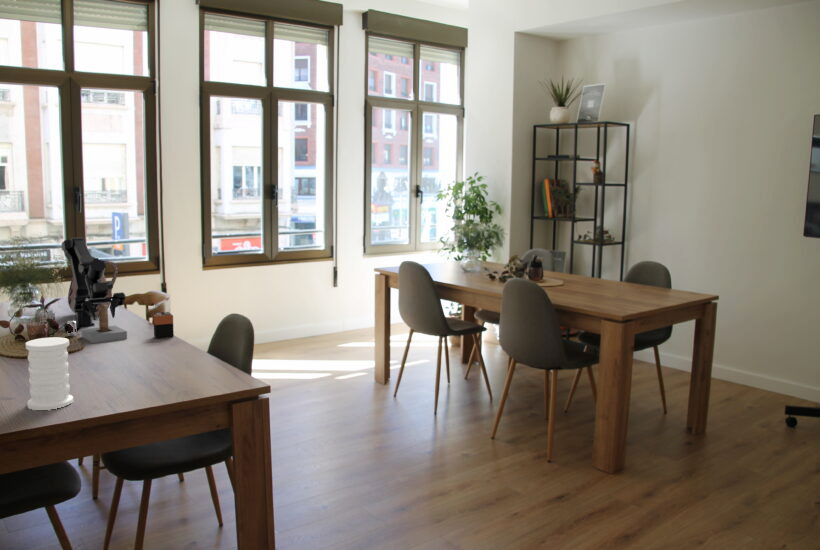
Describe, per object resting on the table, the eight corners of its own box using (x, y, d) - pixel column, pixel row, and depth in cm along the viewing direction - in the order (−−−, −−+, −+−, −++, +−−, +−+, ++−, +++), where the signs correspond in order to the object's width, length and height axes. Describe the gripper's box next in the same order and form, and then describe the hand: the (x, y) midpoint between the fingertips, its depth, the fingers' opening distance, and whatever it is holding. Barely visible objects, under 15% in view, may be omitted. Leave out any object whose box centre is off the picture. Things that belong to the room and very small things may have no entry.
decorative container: (31, 413, 192) (27, 348, 189) (24, 401, 201) (20, 340, 198) (77, 406, 198) (74, 343, 196) (69, 395, 208) (66, 335, 205)
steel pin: (66, 336, 280) (66, 321, 279) (75, 335, 282) (74, 320, 281) (69, 337, 277) (68, 322, 276) (77, 336, 279) (77, 321, 278)
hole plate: (81, 337, 278) (81, 329, 278) (115, 332, 287) (115, 325, 287) (92, 343, 269) (92, 335, 268) (127, 338, 277) (126, 331, 277)
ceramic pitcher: (72, 312, 325) (69, 258, 322) (121, 310, 331) (119, 257, 328) (65, 320, 309) (63, 263, 305) (117, 318, 315) (115, 262, 311)
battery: (173, 337, 281) (173, 312, 280) (156, 339, 278) (155, 314, 276) (171, 335, 285) (170, 310, 284) (153, 336, 282) (153, 312, 280)
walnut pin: (98, 338, 277) (96, 305, 275) (103, 336, 280) (102, 304, 278) (104, 339, 276) (103, 306, 274) (110, 337, 279) (109, 305, 277)
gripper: (73, 276, 271) (82, 308, 265) (123, 272, 283) (133, 303, 276) (68, 293, 279) (77, 325, 272) (117, 289, 290) (127, 320, 284)
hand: (104, 318), depth 276 cm, fingers open, 7 cm apart
